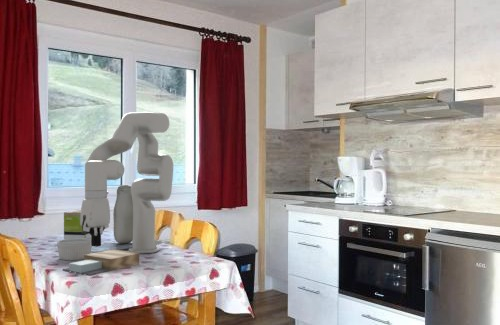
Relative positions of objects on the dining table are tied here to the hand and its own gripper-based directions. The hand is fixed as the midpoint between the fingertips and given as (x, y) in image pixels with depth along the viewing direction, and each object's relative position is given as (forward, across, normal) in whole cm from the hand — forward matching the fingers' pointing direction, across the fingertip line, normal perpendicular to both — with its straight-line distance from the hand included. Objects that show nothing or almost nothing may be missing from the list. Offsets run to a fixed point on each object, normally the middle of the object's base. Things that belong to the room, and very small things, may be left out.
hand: (96, 245), depth 163 cm
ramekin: (+9, -8, -22) cm, 25 cm away
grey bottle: (+10, -44, -32) cm, 55 cm away
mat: (+8, +4, 0) cm, 9 cm away
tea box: (+10, -39, -57) cm, 69 cm away
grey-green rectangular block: (+7, +5, 0) cm, 9 cm away
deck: (+8, -7, 0) cm, 11 cm away
